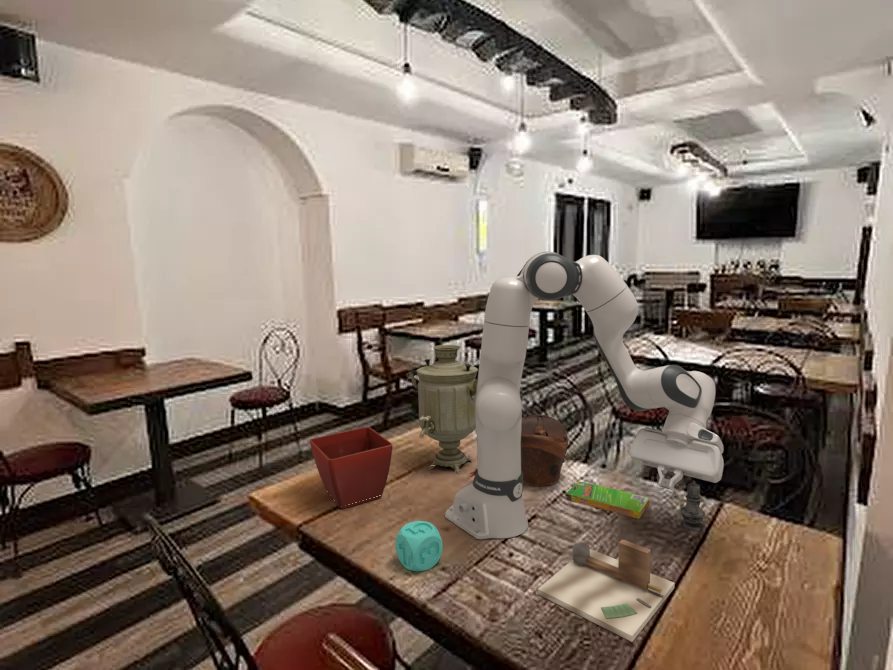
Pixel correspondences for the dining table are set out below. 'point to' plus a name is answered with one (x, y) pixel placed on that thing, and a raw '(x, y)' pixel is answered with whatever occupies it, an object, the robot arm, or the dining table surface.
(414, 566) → the decorative dice
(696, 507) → the chess piece
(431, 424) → the samovar
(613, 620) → the dial board
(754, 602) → the dining table surface
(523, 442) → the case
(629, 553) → the tuning lever
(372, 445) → the plant pot
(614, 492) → the game box
